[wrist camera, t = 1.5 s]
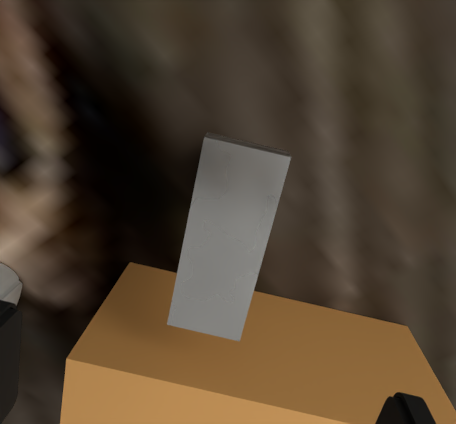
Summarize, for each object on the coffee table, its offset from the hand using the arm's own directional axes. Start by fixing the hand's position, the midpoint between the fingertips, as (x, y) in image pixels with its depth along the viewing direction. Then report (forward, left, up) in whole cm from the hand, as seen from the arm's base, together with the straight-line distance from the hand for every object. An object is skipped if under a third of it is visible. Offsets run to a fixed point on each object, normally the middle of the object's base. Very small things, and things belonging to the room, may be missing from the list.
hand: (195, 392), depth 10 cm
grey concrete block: (0, 0, -17) cm, 17 cm away
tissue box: (+14, +4, -17) cm, 22 cm away
